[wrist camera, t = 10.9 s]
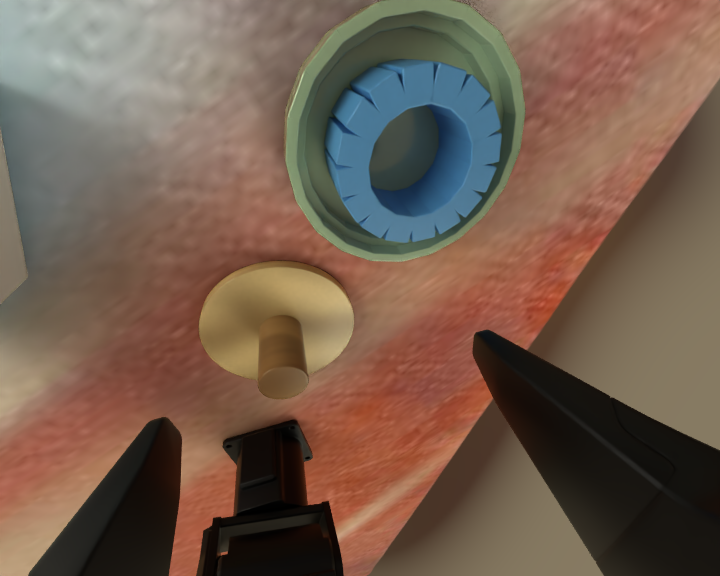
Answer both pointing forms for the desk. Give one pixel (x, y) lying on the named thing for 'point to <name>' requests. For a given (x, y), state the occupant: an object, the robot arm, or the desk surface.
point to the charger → (9, 235)
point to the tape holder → (276, 324)
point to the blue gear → (453, 158)
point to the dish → (408, 130)
